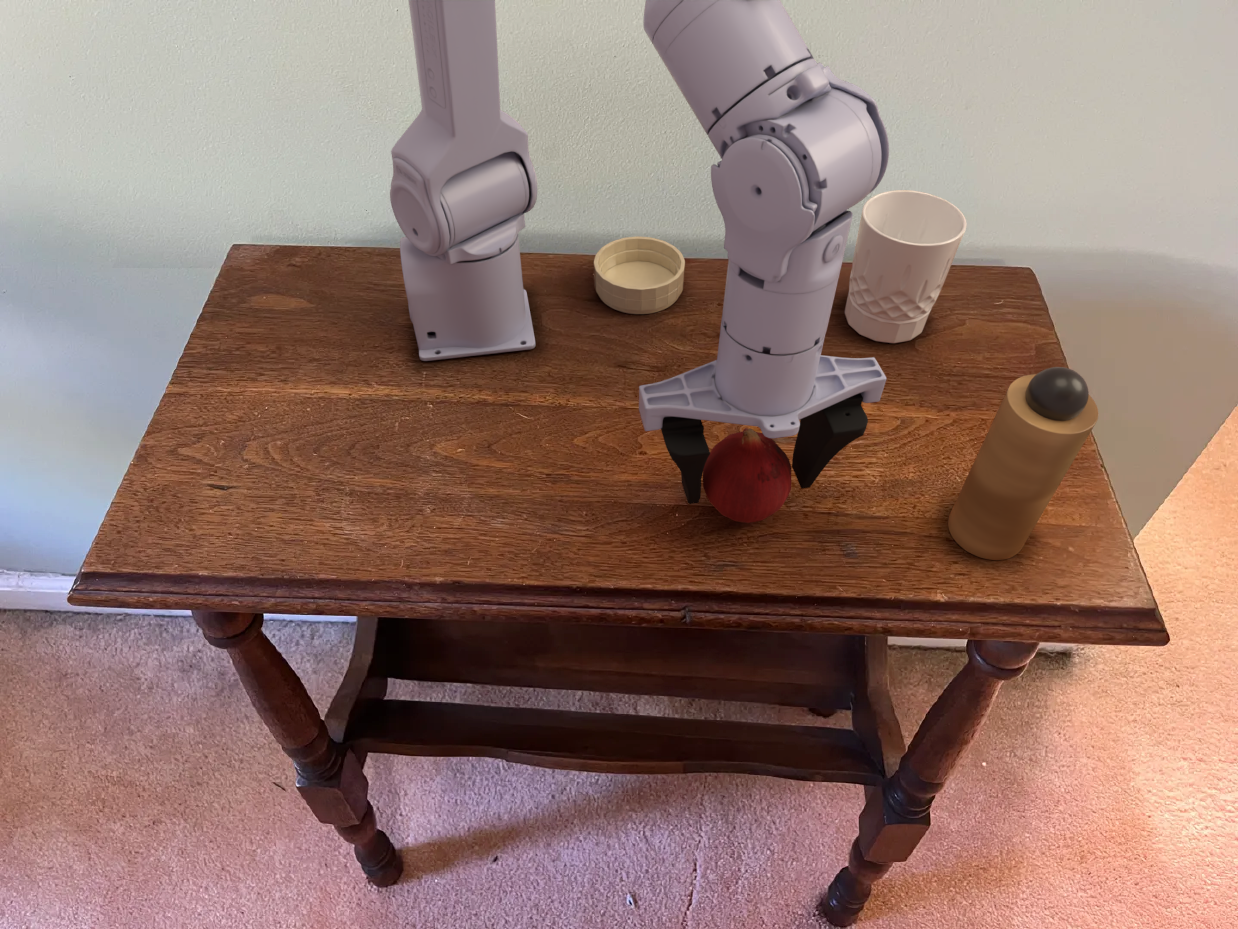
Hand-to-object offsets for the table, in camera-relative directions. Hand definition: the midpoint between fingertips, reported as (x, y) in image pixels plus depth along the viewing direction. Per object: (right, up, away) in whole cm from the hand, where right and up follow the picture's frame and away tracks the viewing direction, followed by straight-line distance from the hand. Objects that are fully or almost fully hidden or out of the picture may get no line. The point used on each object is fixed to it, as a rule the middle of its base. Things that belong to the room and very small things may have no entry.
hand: (746, 484), depth 57 cm
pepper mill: (+17, -3, +1) cm, 17 cm away
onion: (0, -2, +2) cm, 3 cm away
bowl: (-7, +17, +20) cm, 27 cm away
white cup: (+14, +14, +17) cm, 26 cm away
